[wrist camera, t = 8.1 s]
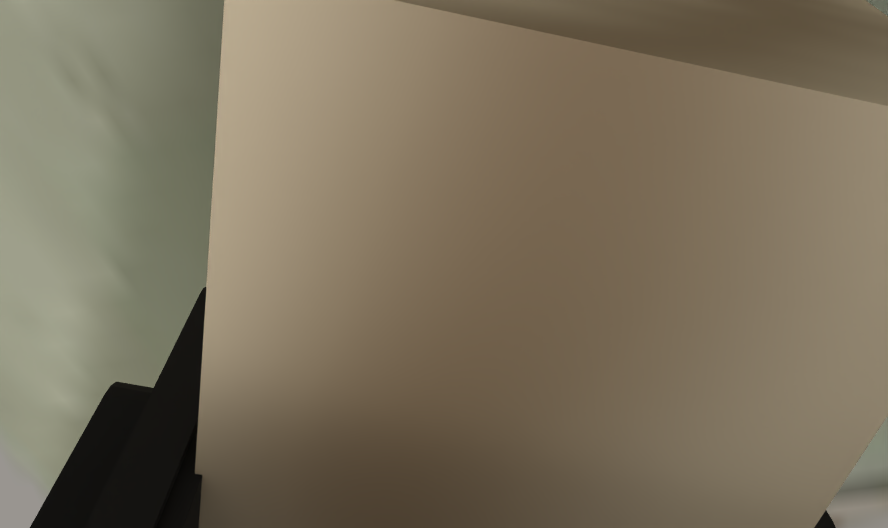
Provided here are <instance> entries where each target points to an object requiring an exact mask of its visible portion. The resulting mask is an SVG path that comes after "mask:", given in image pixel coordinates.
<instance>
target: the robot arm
mask: <svg viewBox="0 0 888 528" xmlns="http://www.w3.org/2000/svg"><path fill="white" fill-rule="evenodd" d="M205 303H206V287H205V288H203V290H202V291H201V293H200V295H199V297H198V299H197V301H196V303H195V305H194V307H193V309H192V311H191V313H190V315H189V317H188V319H187V321H186V323H185V325H184V327H183V329H182V331H181V333H180V335H179V338H178V340H177V342H176V344H175V346H174V348H173V350H172V352H171V354H170V356H169V358H168V360H167V362H166V364H165V366H164V368H163V370H162V372H161V374H160V376H159V378H158V380H157V382H156V384H155V386H154V388H150V387H144V386H138V385H133V384H127V383H121V382H115V383H114V384H112V385H111V386H110V387H109V389H108V390H107V392H106V393H105V395H104V397H103V398H102V400H101V402H100V404H99V405H98V407H97V409H96V411H95V413H94V414H93V416H92V418H91V420H90V421H89V423H88V425H87V427H86V429H85V430H84V432H83V434H82V436H81V437H80V439H79V441H78V443H77V445H76V446H75V448H74V450H73V452H72V454H71V455H70V457H69V459H68V461H67V462H66V464H65V466H64V468H63V470H62V471H61V473H60V475H59V477H58V478H57V480H56V482H55V484H54V486H53V487H52V489H51V491H50V493H49V495H48V496H47V498H46V500H45V502H44V503H43V505H42V507H41V509H40V511H39V512H38V514H37V516H36V518H35V520H34V521H33V523H32V525H31V527H30V528H199V516H200V501H201V487H202V475H200V474H195V462H196V446H197V430H198V414H199V398H200V383H201V367H202V351H203V335H204V319H205ZM814 528H836V527H835V525H834V523H833V521H832V519H831V518H830V516H829V514H828V513H827V511H825V512H824V514H823V515H822V517H821V518H820V520H819V521H818V523H817V524H816V526H815V527H814Z"/></svg>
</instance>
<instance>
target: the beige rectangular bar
mask: <svg viewBox="0 0 888 528" xmlns="http://www.w3.org/2000/svg"><path fill="white" fill-rule="evenodd" d="M887 416H888V16H886V15H885V14H884V13H882V12H881V11H879V10H878V9H877V8H875V7H874V6H872V5H871V4H870V3H868V2H867V1H866V0H224V16H223V32H222V48H221V64H220V80H219V96H218V111H217V127H216V143H215V159H214V175H213V191H212V207H211V223H210V239H209V255H208V271H207V287H206V303H205V319H204V335H203V351H202V367H201V383H200V398H199V414H198V430H197V446H196V462H195V474H200V475H202V487H201V501H200V516H199V528H814V527H815V526H816V524H817V523H818V521H819V520H820V518H821V517H822V515H823V514H824V512H825V511H826V509H827V507H828V506H829V504H830V503H831V501H832V500H833V498H834V497H835V495H836V494H837V492H838V491H839V489H840V488H841V486H842V485H843V483H844V482H845V480H846V479H847V477H848V475H849V474H850V472H851V471H852V469H853V468H854V466H855V465H856V463H857V462H858V460H859V459H860V457H861V456H862V454H863V453H864V451H865V450H866V448H867V447H868V445H869V444H870V442H871V440H872V439H873V437H874V436H875V434H876V433H877V431H878V430H879V428H880V427H881V425H882V424H883V422H884V421H885V419H886V418H887Z"/></svg>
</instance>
